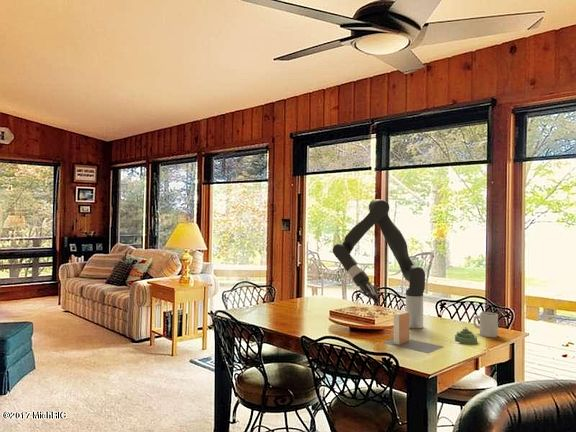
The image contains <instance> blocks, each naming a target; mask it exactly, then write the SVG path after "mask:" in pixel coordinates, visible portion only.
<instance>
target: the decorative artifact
mask: <svg viewBox="0 0 576 432" xmlns="http://www.w3.org/2000/svg"><path fill="white" fill-rule="evenodd" d="M454 341H455V342H459V344H464V345H475V344H477V343H478V336H476V335H475V334H474V332H473V331H471V330H469V328H467V327H466V326H465V328H462V330H460V331H456V334H454Z"/></svg>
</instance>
